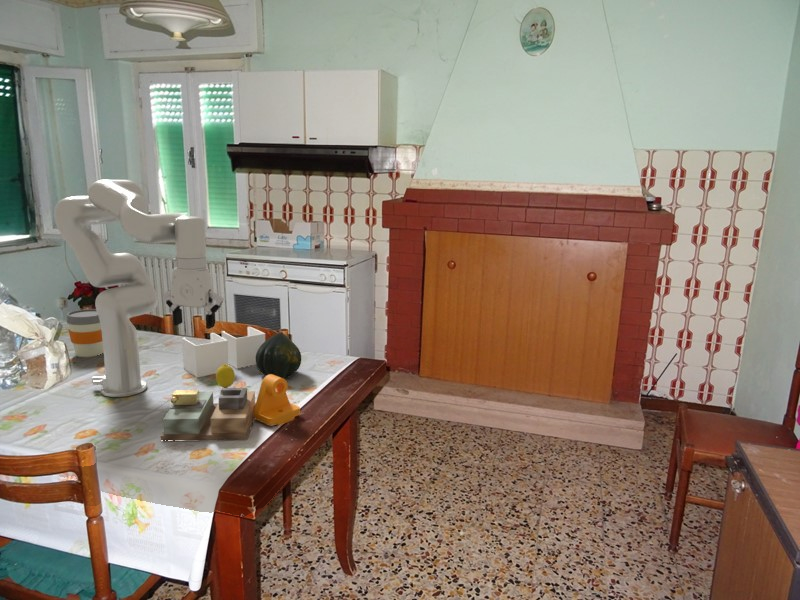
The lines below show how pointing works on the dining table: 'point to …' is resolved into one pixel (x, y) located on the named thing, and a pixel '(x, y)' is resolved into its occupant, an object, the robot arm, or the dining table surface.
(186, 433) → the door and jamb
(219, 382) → the lemon
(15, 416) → the dining table surface
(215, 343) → the storage container
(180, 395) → the brass bolt
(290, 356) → the squash
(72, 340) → the reusable coffee cup
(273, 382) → the bracket
